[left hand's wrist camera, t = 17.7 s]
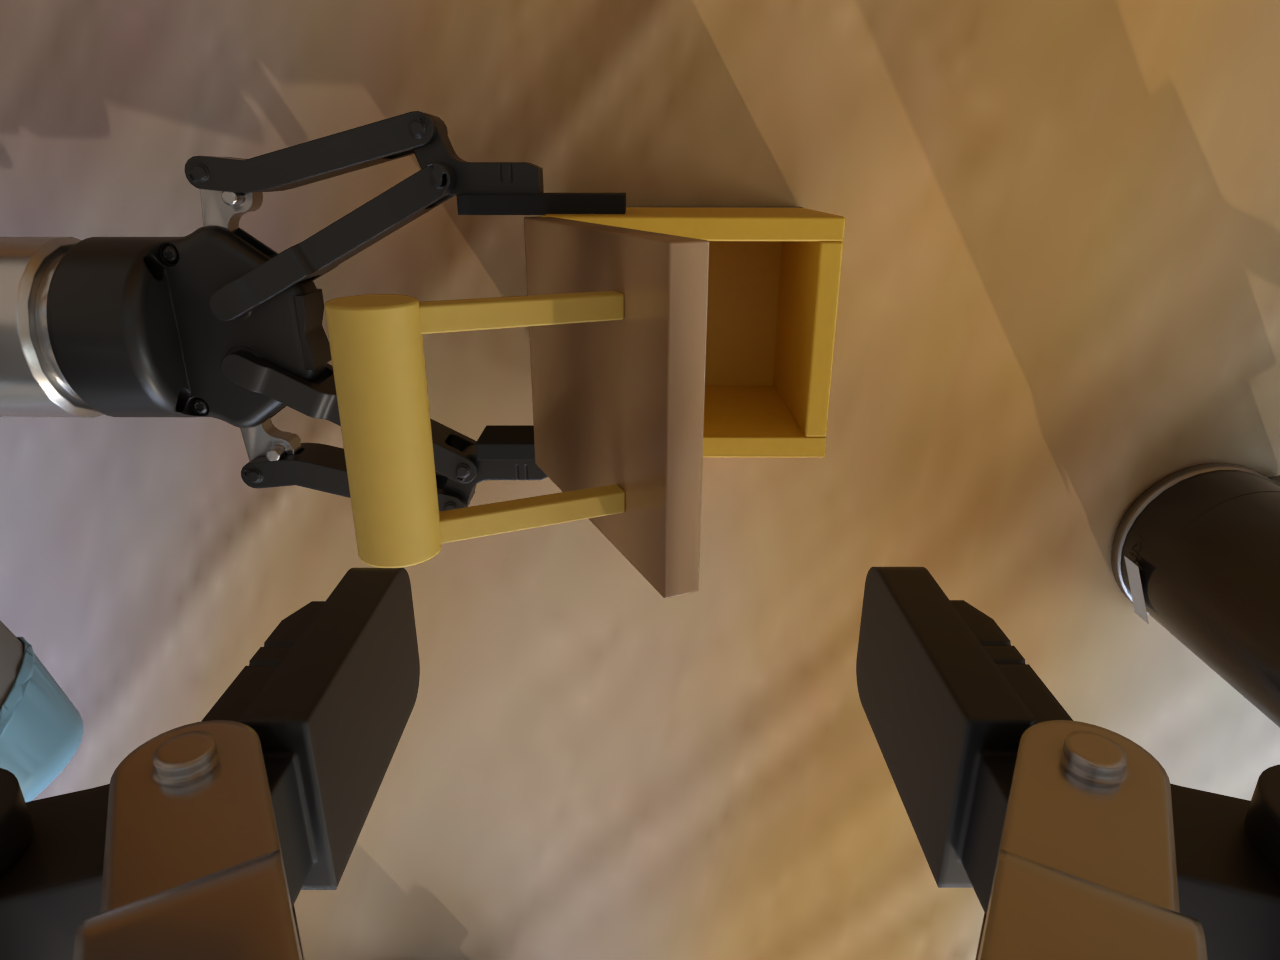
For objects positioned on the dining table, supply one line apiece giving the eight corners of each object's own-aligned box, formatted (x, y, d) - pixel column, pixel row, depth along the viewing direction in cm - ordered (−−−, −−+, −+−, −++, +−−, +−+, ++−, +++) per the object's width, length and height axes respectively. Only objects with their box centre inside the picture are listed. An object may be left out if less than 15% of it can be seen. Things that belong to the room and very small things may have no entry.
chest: (799, 206, 39) (846, 216, 30) (786, 398, 42) (824, 457, 33) (562, 206, 39) (539, 215, 30) (568, 397, 42) (549, 457, 33)
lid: (710, 240, 19) (325, 253, 16) (699, 591, 23) (379, 662, 19) (551, 216, 29) (299, 221, 26) (560, 460, 33) (337, 491, 30)
